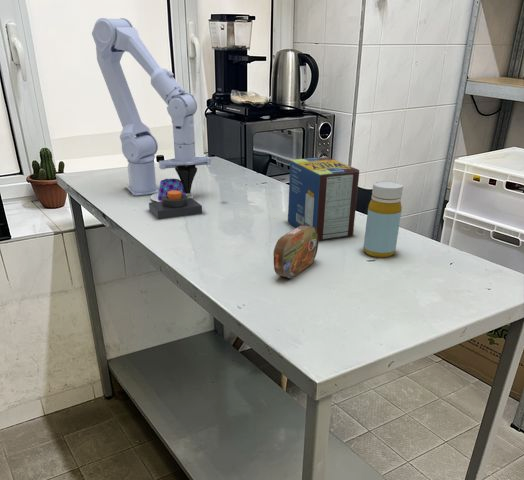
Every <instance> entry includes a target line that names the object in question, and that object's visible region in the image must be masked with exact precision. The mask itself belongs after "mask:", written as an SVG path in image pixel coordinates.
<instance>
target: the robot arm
mask: <svg viewBox="0 0 524 480" xmlns="http://www.w3.org/2000/svg"><path fill="white" fill-rule="evenodd" d="M91 36H92V38H93V41H94V43H95V51H96V61H97V64H98V67H99V69H100V71H101V74H102V77H103V79H104V82H105V85H106V87H107V90H108V93H109V95H110V98H111V101H112V103H113V106H114V108H115V111H116V113H117V117H118V119H119V122H120V124H121V127H122V130H121V132H120V134H119V140H120V143H121V152H122V155H123V157H124V158H125V159H126V161H127V175H128V184H129V185H127V186H126V189H127V190H128V191H129V192H130V193H131V194H132V195H133V196H135V197H137V196H145V195H153V194H155V193H159V187H157V179H156V177H157V176H156V167H155V157H156V156H155V155H156V154H157V152H158V149H159V145H158V141H157V139H156V137H155V136H154V135H153V134H152V132H151V129H150V127H148V126H147V125H146V124H145V123H144V122H143V121H142V120H141V117H140V113H139V111H138V108H137V106H136V103H135V100H134V98H133V95H132V92H131V89H130V87H129V83H128V81H127V79H126V76H125V73H124V70H123V68H122V65H121V60H122V57H123V55H124V54H125V53H126V52H127V53H129V54H130V55H131V56H132V57H133V58H134V60H135V61H136V62H137V63H138V64H139V65H140V66H141V68H142V69H143V70H144V71H145V72H146V73H147V75H148V76H150V85H151V87H152V88H153V89H154V90H155V91H156V93H157V94H158V95H159V97H160V98H161V99H162V100H163V102H164V104H166V110H167V111H166V112H167V114H168V115H169V116H170V118H171V124H172V138H173V152H174V158H169V159H163V160H158V164H159V166H158V167H159V169H160V170H166V169H174V170H175V172H176V174H177V176H178V178H179V180H180V181H181V182H182V184H183V188H184V191H185V193H186V194H189V193H190V194H191V193H192V185H193V182H194V179H195V176H196V174H197V172H198V167H196V166H211V165H212V158H211V157H210V156H196V139H195V138H196V137H195V117H194V115H195V114H196V113H197V110H198V103H197V100H196V99H195V97H194V95H193V94H192V93H189V92H186V89H185V88H184V87H182V86H181V85H180V84H179V83H178V81H177V80H176V79H175V77H174V73H173V72H172V70H169V69H168V68H161V66H160V65H159V63H158V62H157V60H156V59H155V58H154V56H153V55H152V53H151V52H150V51H149V49H148V48H147V46H146V45H145V43H144V42H143V40H142V39H141V37H140V35H139V31H138V30H137V29H136V27H134V26H133V24H132V22H131V21H130V20H129V19H127V18H124V17H121V18H107V17H100V18H98V19H97V20H96V21H95V23H94V25H93V29H92V32H91Z"/></svg>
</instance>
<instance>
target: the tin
mask: <svg viewBox="0 0 524 480" xmlns="http://www.w3.org/2000/svg"><path fill="white" fill-rule="evenodd" d="M318 248H319V241H318V233H317V230H316V228H315V227H313V226H299V227H297V228H296V227H294V229H292V230H290V231H289V232H287V233H285V234H283V235H282V236H280V237H279V238H278V240H277V241H276V244H275V246H274V249H273V270H274V272H275V274H276V275H277V276H279V277H283V278H287V279H293V278H294V277H296V276H297V275H299V274H300V273H301V272H303V271H304V270H306V269H307V268H309V267H310V266H311V265H312V264H313V262H314V261H315V259H316V256H317V254H318V250H319V249H318Z"/></svg>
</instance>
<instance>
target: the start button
mask: <svg viewBox="0 0 524 480" xmlns="http://www.w3.org/2000/svg"><path fill="white" fill-rule="evenodd" d="M167 194H168V199H171V200H177V199H181V198H182V195H181V191H177V190H173V191H168V192H167Z"/></svg>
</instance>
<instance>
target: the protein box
mask: <svg viewBox="0 0 524 480" xmlns="http://www.w3.org/2000/svg"><path fill="white" fill-rule="evenodd" d="M359 178H360V169H357V168H355V167H353V166H350V165H348V164H345V163H343V162H340V161H338V160H335V159H333V158H330V157H329V156H321V157H308V158H297V159H290V160H289V182H288V183H289V186H288V188H289V189H288V207H287V209H288V210H287V223H288V224H290V225H291V226H293V227H294V228H297V227H299V226H313V227H315V228H316V230H317V233H318V242H319V241H320V242H321V241H326V240H327V241H328V240H334V239H341V238H348V237H353V236H354V227H355V221H356V219H355V218H356V210H357V199H358V189H359V181H360V180H359Z"/></svg>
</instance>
